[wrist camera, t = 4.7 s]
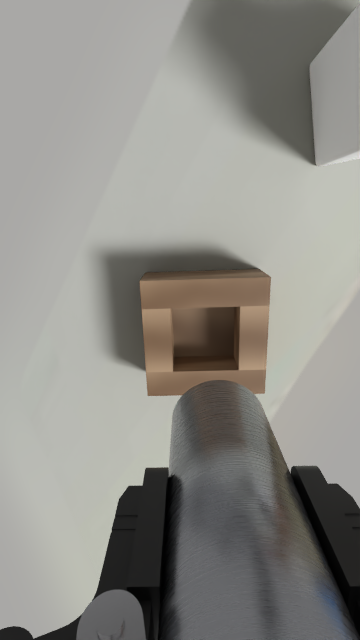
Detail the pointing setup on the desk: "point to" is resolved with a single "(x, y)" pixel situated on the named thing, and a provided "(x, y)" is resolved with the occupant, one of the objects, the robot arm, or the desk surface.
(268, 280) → the bore block
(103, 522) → the desk surface
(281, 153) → the desk surface
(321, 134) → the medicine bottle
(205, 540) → the peg
